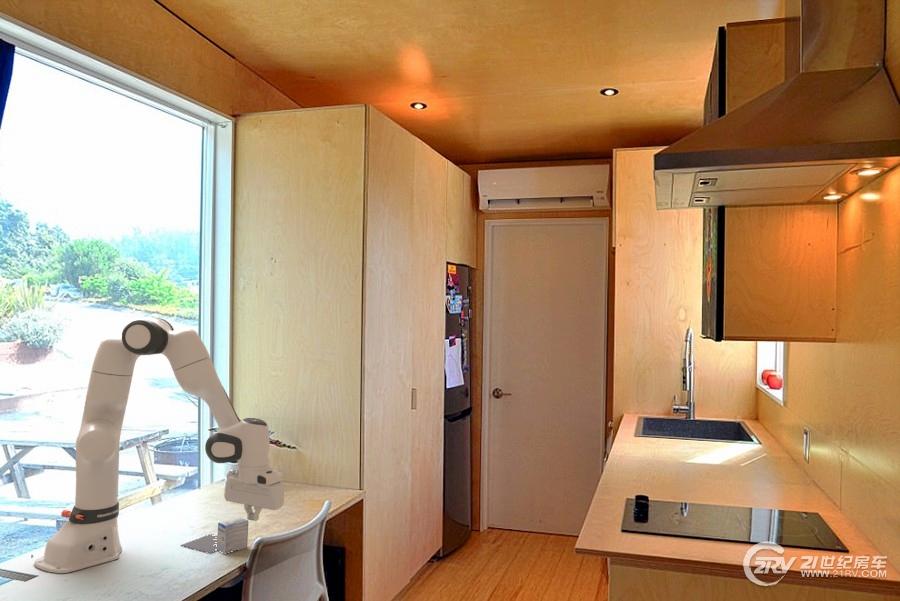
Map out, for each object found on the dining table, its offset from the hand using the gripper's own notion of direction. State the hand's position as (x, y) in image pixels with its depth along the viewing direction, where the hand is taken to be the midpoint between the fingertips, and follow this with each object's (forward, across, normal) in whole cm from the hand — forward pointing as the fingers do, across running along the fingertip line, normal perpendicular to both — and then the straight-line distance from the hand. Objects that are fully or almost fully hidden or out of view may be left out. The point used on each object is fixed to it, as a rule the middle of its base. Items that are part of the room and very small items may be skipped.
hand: (253, 519), depth 205 cm
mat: (+10, -16, 0) cm, 19 cm away
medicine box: (+10, -7, -1) cm, 13 cm away
